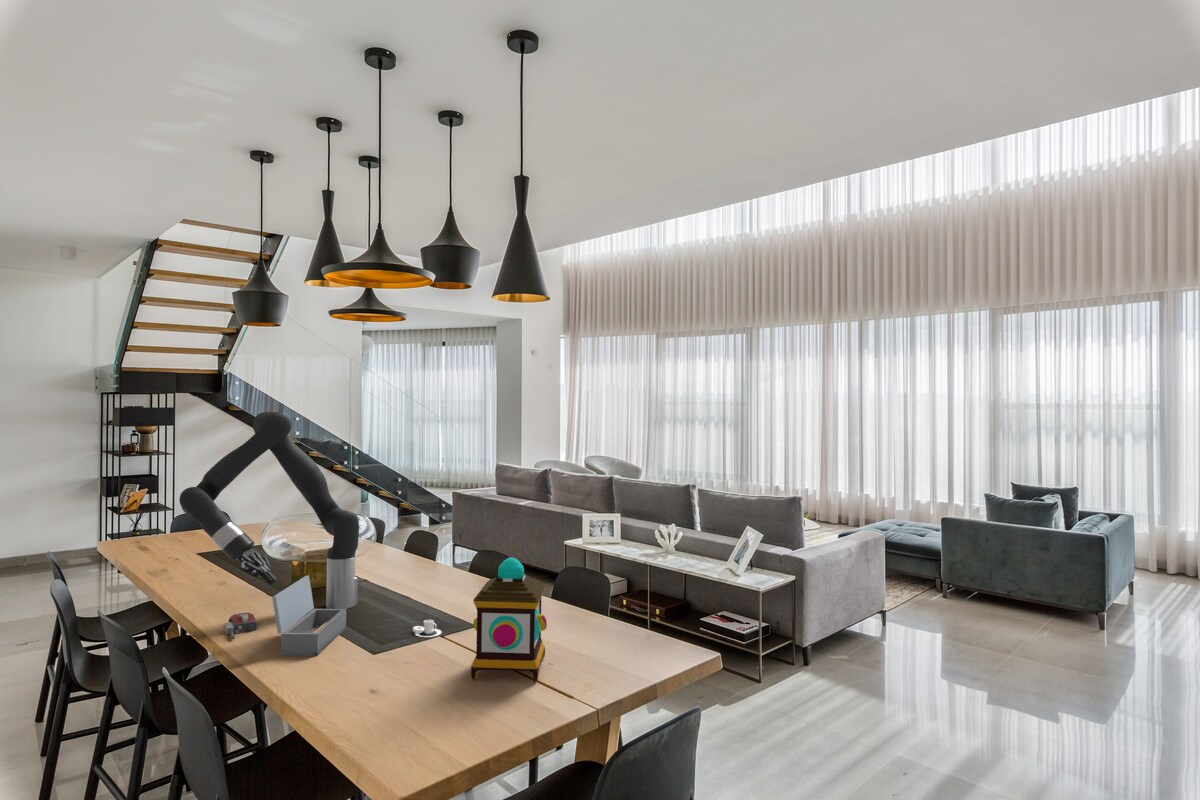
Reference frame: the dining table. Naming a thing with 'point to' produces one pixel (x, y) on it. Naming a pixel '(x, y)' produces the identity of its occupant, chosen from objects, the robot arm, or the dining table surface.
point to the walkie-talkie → (241, 624)
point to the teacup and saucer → (426, 629)
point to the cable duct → (313, 632)
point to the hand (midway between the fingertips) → (274, 582)
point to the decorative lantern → (509, 622)
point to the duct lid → (292, 604)
